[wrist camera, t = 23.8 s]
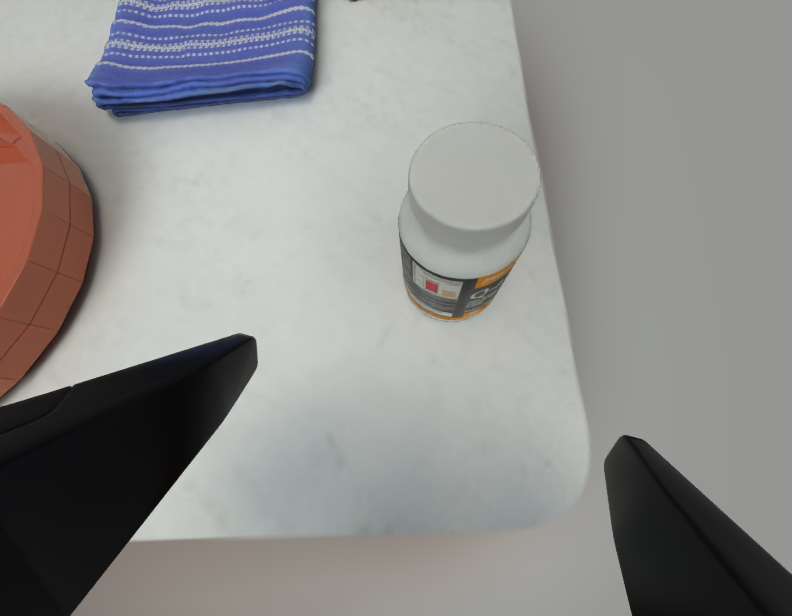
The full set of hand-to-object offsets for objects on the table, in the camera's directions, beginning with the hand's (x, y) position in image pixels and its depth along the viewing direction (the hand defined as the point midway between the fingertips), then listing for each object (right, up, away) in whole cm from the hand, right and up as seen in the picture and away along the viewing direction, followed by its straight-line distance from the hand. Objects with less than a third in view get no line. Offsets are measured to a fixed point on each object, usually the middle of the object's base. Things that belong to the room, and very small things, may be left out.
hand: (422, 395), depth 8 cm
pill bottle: (+3, +4, +13) cm, 14 cm away
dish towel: (-16, +28, +22) cm, 39 cm away
